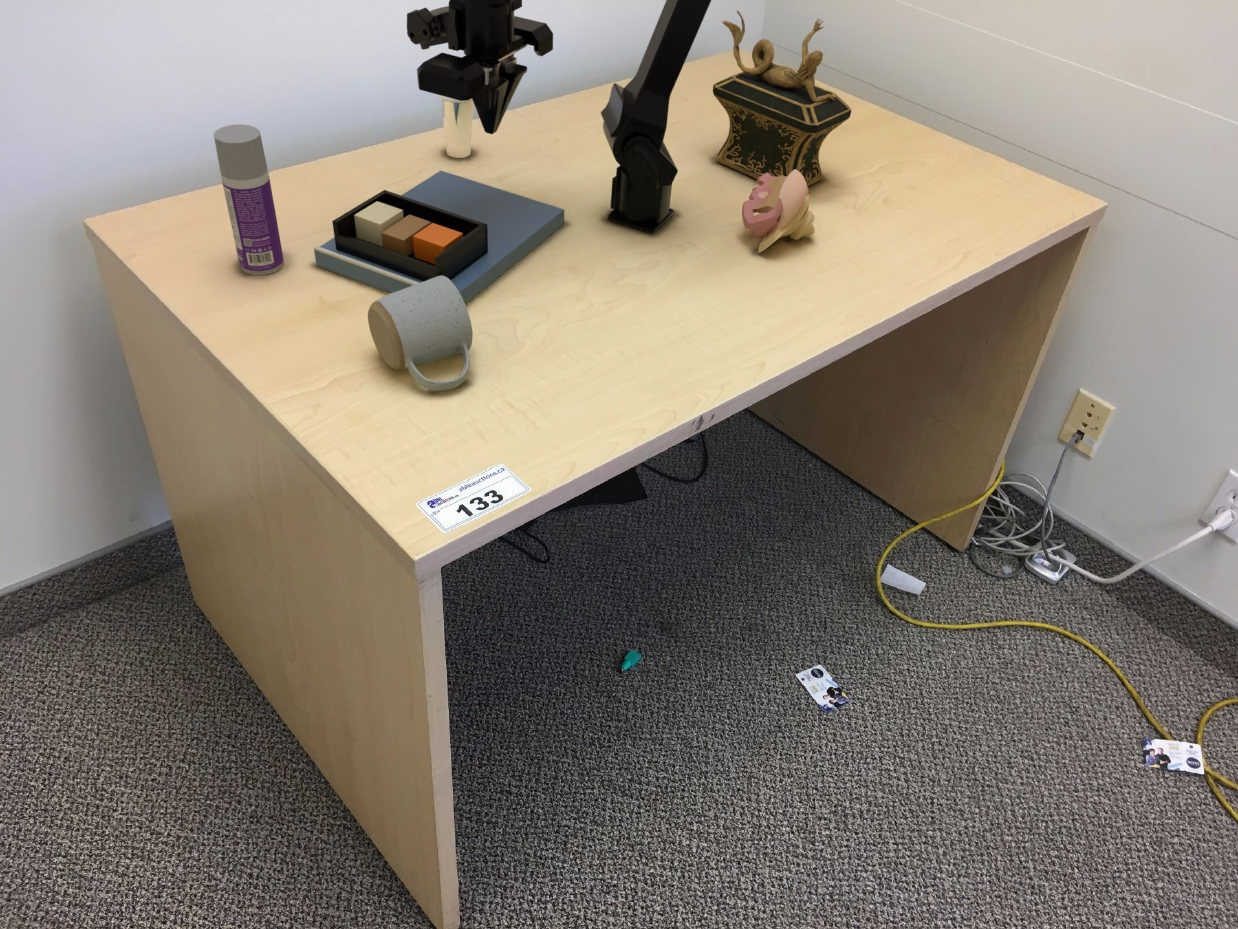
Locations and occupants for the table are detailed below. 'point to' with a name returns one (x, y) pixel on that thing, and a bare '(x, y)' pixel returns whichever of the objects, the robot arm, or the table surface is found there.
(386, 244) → the black open tray
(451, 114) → the milkshake
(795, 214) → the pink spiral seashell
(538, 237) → the blue flat slab
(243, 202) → the container
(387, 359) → the ceramic mug
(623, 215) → the robot arm
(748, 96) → the decorative box
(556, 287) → the table surface
